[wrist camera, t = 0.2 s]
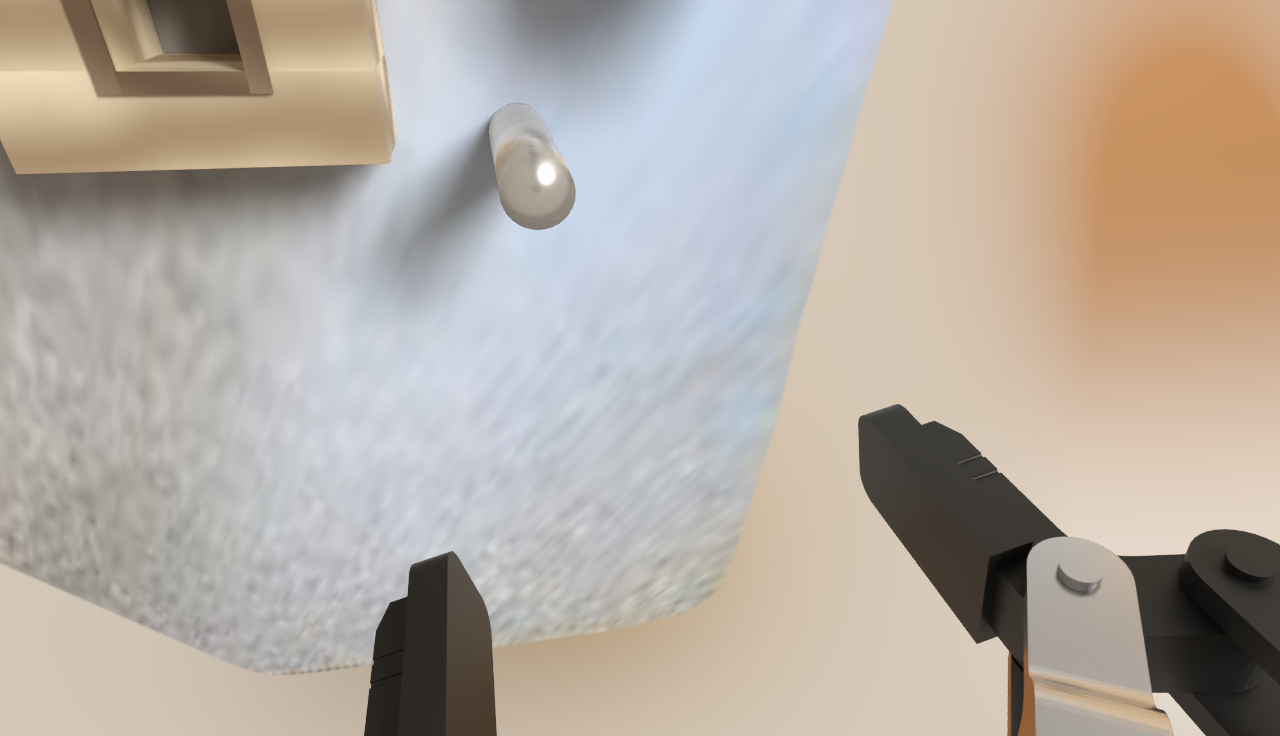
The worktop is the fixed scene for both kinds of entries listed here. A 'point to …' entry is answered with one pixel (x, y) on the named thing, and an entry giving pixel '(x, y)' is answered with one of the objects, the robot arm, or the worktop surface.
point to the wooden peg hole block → (192, 88)
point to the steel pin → (529, 168)
